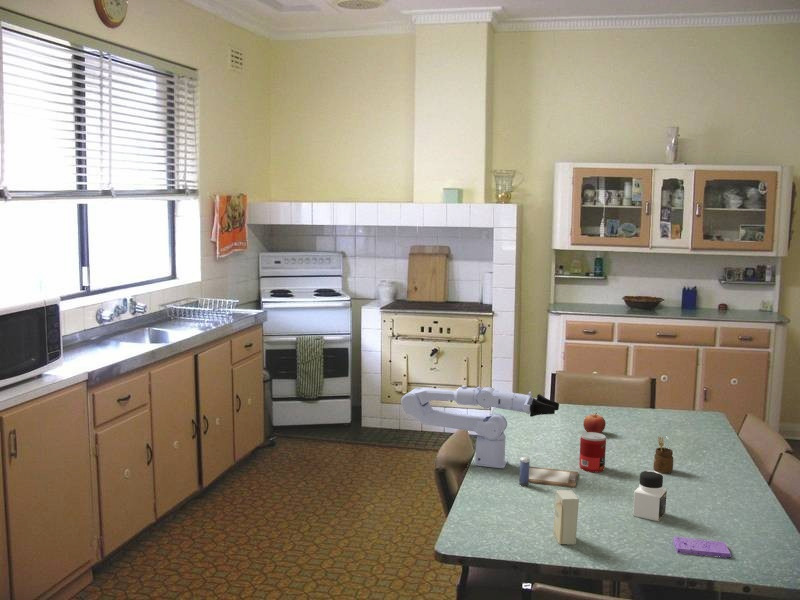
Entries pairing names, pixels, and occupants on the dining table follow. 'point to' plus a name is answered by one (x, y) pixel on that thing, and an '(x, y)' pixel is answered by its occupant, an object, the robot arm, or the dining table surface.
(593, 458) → the canned food
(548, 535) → the dining table surface
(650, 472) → the medicine bottle
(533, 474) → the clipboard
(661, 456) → the utensil holder
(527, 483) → the blue cylindrical bottle
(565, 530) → the skincare box
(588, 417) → the apple
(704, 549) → the sponges
